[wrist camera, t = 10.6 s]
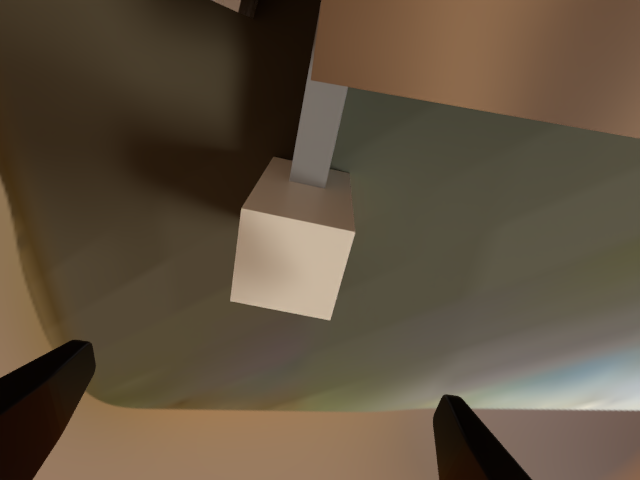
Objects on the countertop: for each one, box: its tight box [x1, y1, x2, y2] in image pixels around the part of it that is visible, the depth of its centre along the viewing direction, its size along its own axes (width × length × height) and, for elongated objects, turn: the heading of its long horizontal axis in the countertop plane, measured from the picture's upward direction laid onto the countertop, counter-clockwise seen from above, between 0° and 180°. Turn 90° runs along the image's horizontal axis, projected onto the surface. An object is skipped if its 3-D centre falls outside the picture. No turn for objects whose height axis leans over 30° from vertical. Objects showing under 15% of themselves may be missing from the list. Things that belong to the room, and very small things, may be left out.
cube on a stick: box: [230, 4, 355, 320], centre depth 14 cm, size 4×16×7 cm, turn 168°
